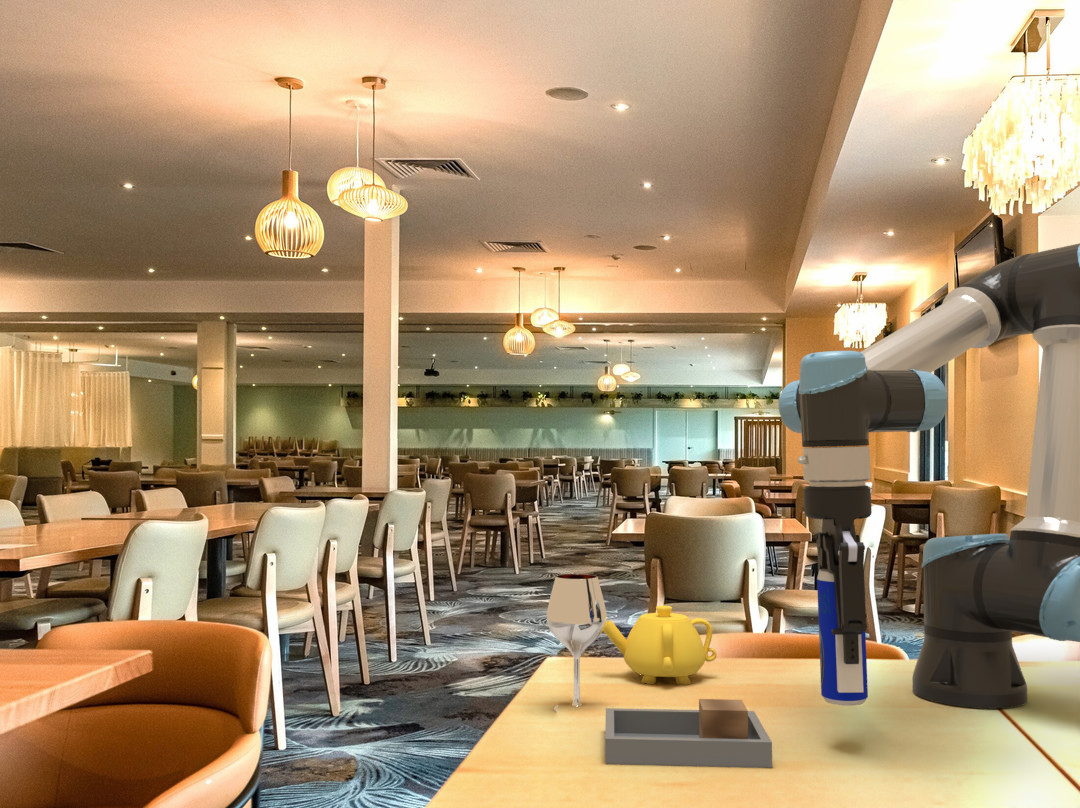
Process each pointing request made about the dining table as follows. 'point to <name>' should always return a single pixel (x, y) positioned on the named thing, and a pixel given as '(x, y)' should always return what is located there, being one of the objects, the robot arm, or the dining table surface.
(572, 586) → the wineglass
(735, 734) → the walnut block
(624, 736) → the tray
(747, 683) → the dining table surface
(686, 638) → the teapot
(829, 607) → the beverage can
